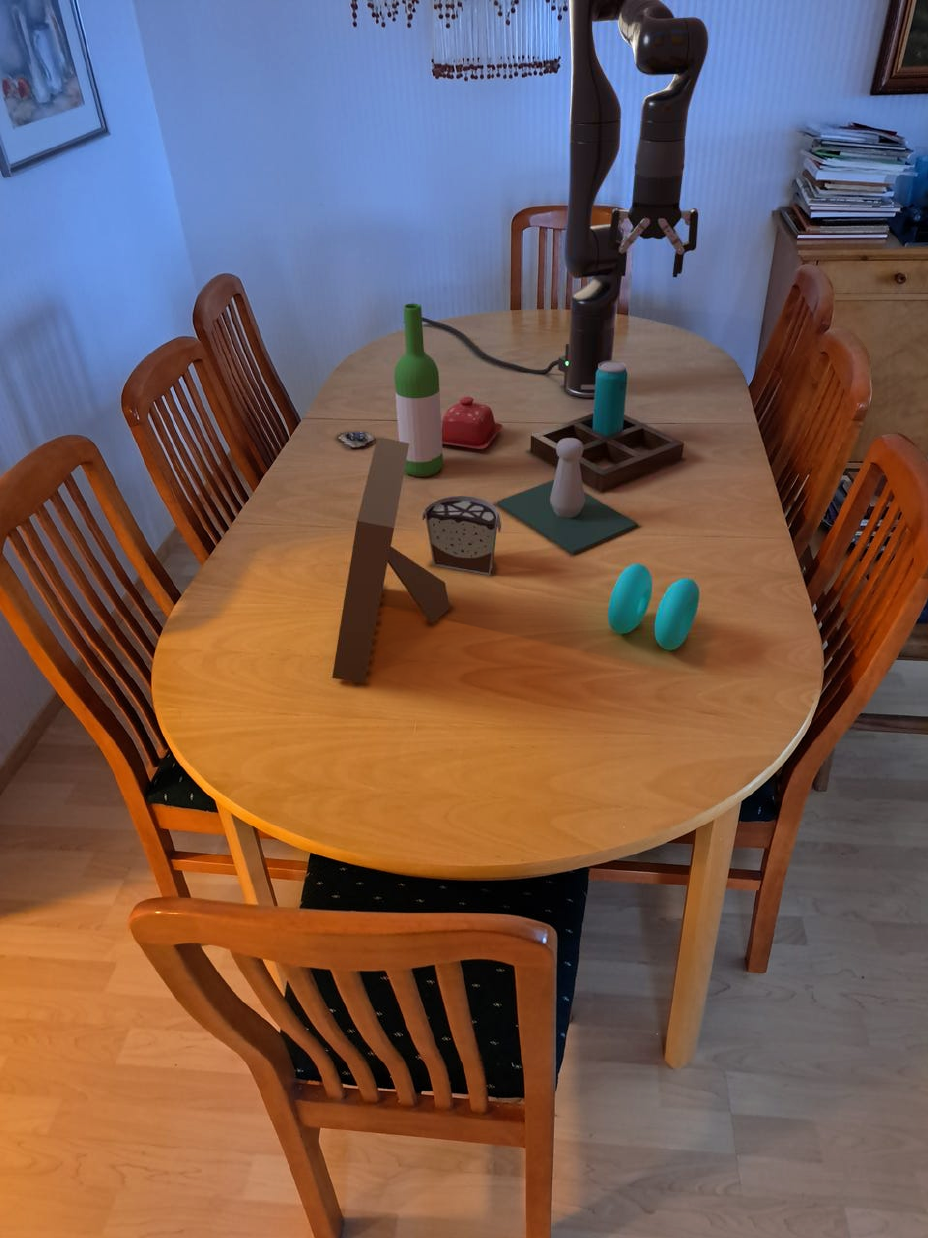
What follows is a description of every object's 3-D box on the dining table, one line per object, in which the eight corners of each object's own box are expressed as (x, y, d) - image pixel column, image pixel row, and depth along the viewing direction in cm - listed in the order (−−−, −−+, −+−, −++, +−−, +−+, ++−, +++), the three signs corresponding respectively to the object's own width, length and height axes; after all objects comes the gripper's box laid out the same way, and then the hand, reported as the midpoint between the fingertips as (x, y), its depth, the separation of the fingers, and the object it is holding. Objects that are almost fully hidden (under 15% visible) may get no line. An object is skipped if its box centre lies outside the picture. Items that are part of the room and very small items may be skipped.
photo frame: (332, 683, 119) (308, 520, 104) (354, 588, 136) (336, 437, 121) (444, 683, 118) (436, 520, 103) (451, 588, 136) (445, 436, 121)
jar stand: (530, 451, 171) (530, 434, 169) (608, 423, 180) (609, 407, 178) (601, 492, 158) (603, 474, 156) (682, 459, 167) (684, 442, 165)
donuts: (670, 666, 120) (679, 606, 114) (601, 643, 124) (606, 584, 118) (696, 627, 127) (706, 568, 121) (631, 606, 131) (637, 548, 125)
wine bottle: (451, 467, 167) (445, 304, 148) (422, 483, 162) (411, 316, 144) (422, 455, 171) (412, 295, 153) (392, 470, 166) (379, 306, 148)
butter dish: (429, 446, 174) (426, 405, 169) (452, 422, 182) (450, 382, 177) (484, 455, 170) (484, 413, 165) (505, 430, 178) (505, 389, 173)
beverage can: (625, 436, 175) (632, 362, 166) (616, 449, 171) (622, 373, 162) (597, 431, 177) (602, 357, 168) (587, 444, 173) (592, 368, 164)
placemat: (496, 504, 155) (496, 501, 155) (559, 480, 162) (559, 477, 161) (573, 554, 142) (573, 551, 142) (637, 526, 148) (637, 523, 148)
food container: (511, 555, 142) (511, 500, 136) (499, 576, 138) (499, 520, 132) (438, 543, 146) (435, 489, 140) (424, 563, 141) (421, 508, 135)
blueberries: (358, 452, 172) (357, 443, 171) (328, 442, 176) (327, 433, 175) (381, 439, 177) (380, 430, 176) (351, 429, 181) (350, 420, 179)
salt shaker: (584, 504, 154) (588, 433, 146) (584, 521, 149) (589, 450, 141) (549, 503, 154) (552, 433, 146) (549, 520, 150) (551, 449, 142)
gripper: (704, 165, 143) (691, 269, 153) (614, 164, 146) (607, 267, 155) (706, 175, 138) (692, 283, 147) (612, 174, 140) (605, 281, 150)
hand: (648, 275), depth 151 cm, fingers open, 8 cm apart
